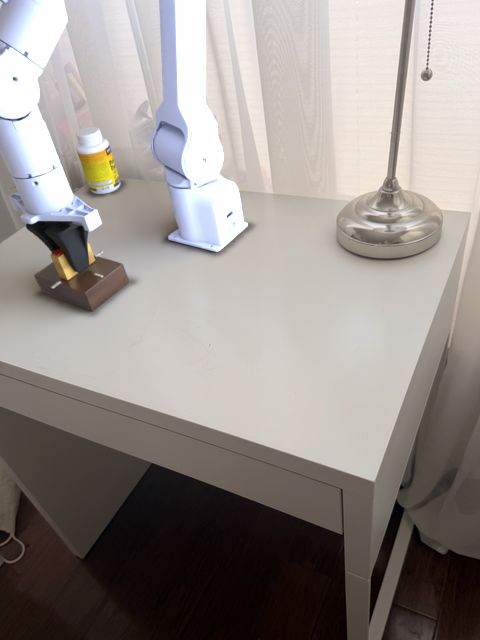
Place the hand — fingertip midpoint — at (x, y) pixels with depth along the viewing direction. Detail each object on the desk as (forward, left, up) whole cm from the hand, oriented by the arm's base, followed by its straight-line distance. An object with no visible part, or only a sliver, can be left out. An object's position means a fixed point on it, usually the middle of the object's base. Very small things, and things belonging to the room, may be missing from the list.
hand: (76, 266), depth 72 cm
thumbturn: (0, 0, 0) cm, 0 cm away
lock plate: (0, 0, -3) cm, 3 cm away
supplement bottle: (+20, -24, -4) cm, 31 cm away
